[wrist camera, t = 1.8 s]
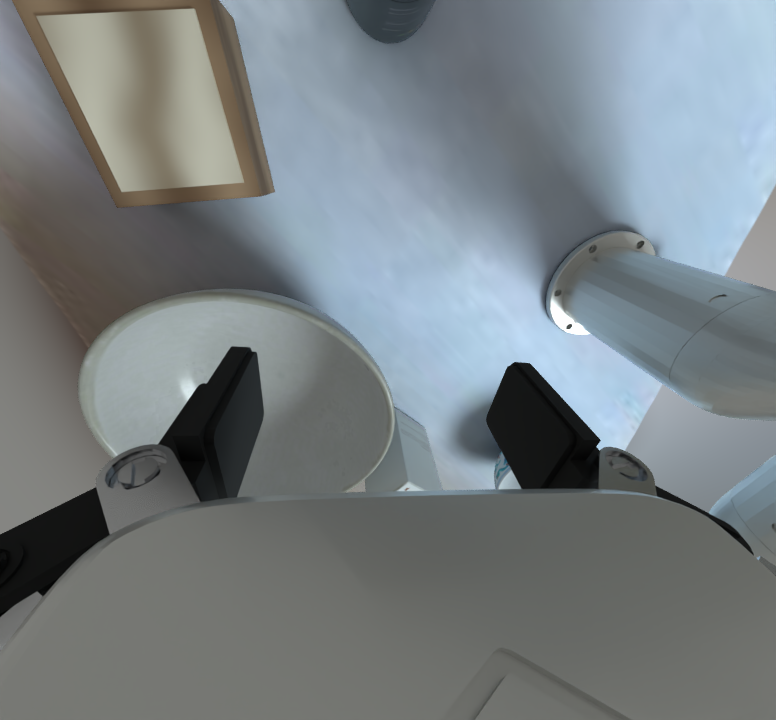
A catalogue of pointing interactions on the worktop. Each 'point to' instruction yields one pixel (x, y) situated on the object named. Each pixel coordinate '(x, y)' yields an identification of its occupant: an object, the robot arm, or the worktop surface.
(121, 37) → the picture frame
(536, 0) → the worktop surface
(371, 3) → the supplement bottle
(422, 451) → the supplement box
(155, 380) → the decorative bowl
